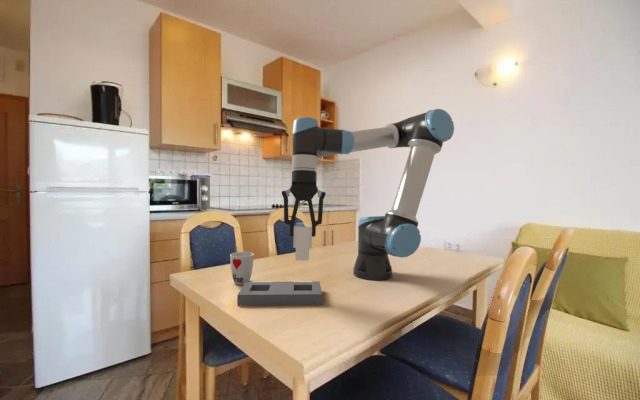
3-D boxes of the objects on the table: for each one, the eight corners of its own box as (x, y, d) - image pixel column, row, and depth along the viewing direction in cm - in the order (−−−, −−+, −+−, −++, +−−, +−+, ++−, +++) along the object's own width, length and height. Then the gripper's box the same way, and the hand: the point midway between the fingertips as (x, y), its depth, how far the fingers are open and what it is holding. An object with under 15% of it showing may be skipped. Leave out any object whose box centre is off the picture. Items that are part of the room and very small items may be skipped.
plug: (308, 257, 92) (309, 223, 91) (308, 260, 88) (309, 224, 87) (295, 257, 91) (296, 222, 91) (295, 260, 87) (296, 224, 87)
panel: (319, 290, 96) (319, 280, 96) (322, 304, 84) (322, 293, 84) (245, 290, 95) (245, 281, 95) (237, 305, 83) (237, 294, 83)
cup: (225, 282, 103) (225, 254, 103) (245, 277, 109) (245, 250, 109) (237, 287, 98) (238, 257, 98) (258, 282, 104) (258, 254, 103)
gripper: (331, 172, 93) (329, 245, 94) (277, 170, 92) (275, 244, 93) (333, 170, 86) (331, 249, 86) (274, 168, 84) (273, 249, 85)
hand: (302, 246), depth 89 cm, fingers closed on plug, 4 cm apart
